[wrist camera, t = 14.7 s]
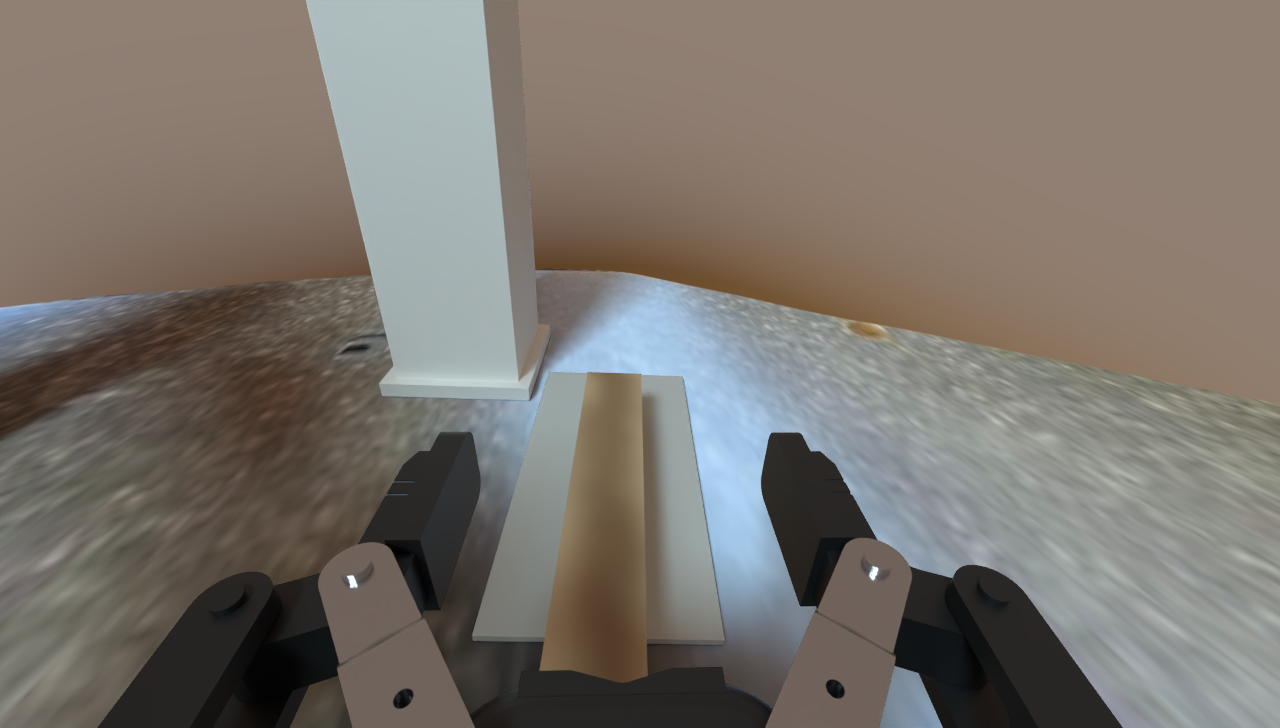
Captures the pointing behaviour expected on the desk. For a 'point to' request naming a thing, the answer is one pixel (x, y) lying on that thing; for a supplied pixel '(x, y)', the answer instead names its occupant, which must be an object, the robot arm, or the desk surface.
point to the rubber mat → (671, 519)
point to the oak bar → (603, 541)
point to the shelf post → (439, 187)
